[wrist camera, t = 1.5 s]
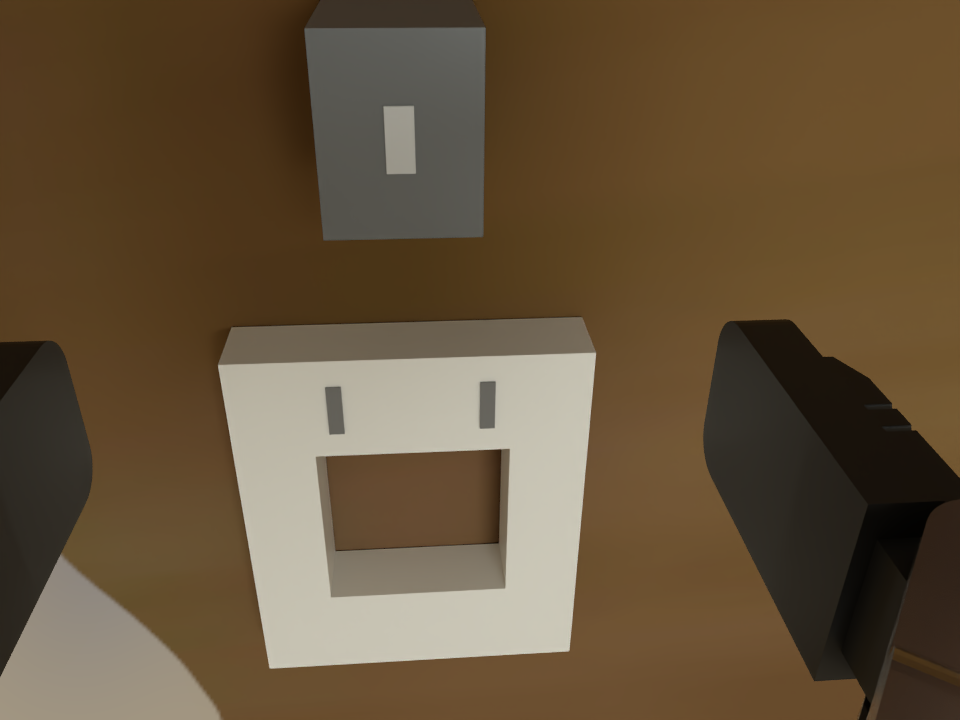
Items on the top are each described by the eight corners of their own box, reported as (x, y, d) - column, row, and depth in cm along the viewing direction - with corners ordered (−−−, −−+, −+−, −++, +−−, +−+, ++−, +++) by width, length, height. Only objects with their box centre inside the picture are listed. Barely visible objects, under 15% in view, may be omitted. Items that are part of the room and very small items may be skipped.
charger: (325, -9, 24) (303, 29, 19) (467, -9, 24) (485, 27, 19) (338, 165, 26) (323, 241, 21) (467, 163, 27) (483, 238, 22)
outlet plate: (231, 327, 29) (217, 366, 27) (582, 316, 30) (596, 354, 28) (277, 620, 36) (269, 670, 34) (559, 604, 37) (569, 653, 35)
